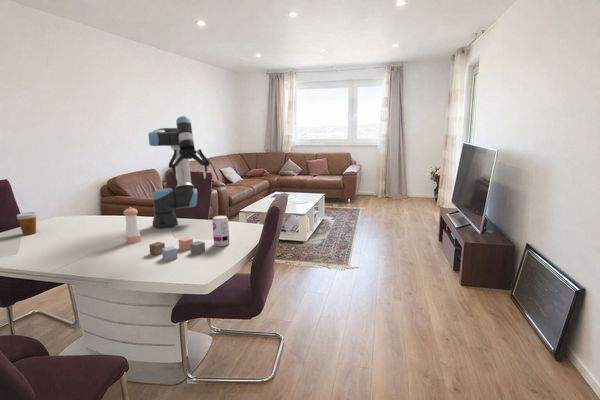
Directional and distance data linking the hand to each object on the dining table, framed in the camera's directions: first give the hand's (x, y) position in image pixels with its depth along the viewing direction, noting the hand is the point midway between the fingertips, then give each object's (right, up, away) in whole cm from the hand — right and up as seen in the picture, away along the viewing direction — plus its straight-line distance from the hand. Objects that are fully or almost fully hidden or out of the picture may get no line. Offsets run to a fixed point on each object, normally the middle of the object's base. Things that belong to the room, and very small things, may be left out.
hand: (191, 178), depth 179 cm
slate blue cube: (-7, -39, -10) cm, 41 cm away
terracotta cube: (-4, -36, +3) cm, 37 cm away
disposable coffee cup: (-106, -31, +30) cm, 114 cm away
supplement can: (+14, -35, +9) cm, 39 cm away
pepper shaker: (-36, -34, +15) cm, 52 cm away
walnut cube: (-16, -38, -4) cm, 41 cm away
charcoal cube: (+4, -37, -3) cm, 38 cm away
